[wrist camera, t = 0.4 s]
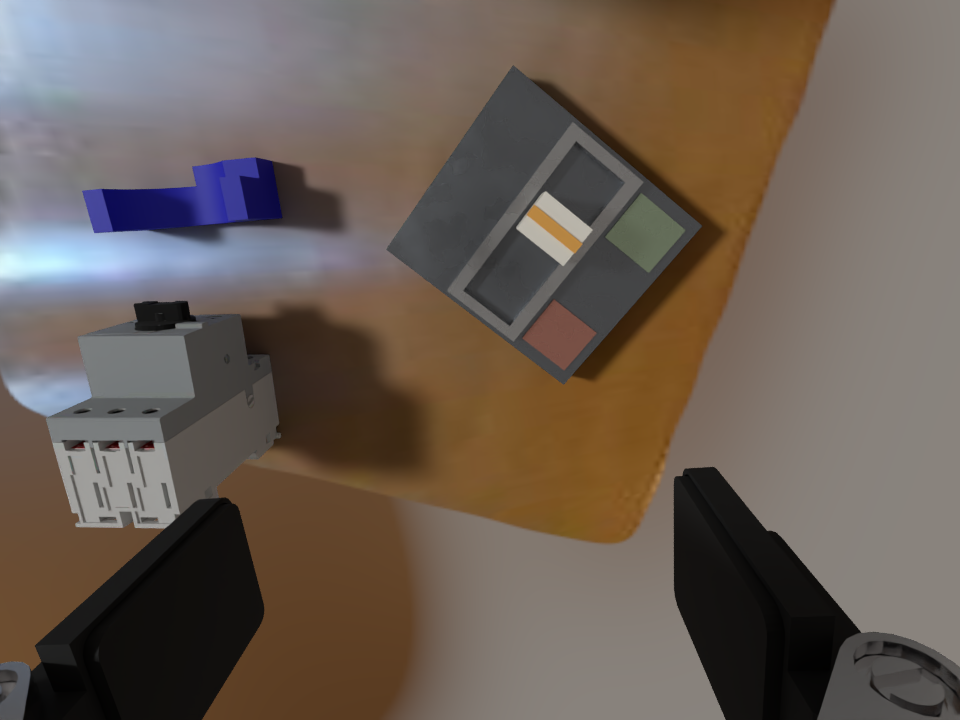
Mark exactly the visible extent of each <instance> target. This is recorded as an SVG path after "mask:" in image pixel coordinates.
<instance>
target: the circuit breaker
mask: <svg viewBox="0 0 960 720" xmlns="http://www.w3.org/2000/svg"><path fill="white" fill-rule="evenodd" d="M134 308H135V312H136V317H137V320H134V321H130V322H127V323H123V324H119V325H116V326H112V327H109V328H105V329H102V330H98V331H95V332H91V333H88V334H86V335H82V336H78V342H79V346H80V350H81V354H82V358H83V362H84V366H85V370H86V374H87V378H88V382H89V386H90V390H91V394H92V397H91V398H90V399H88V400H86V401H84V402H81V403H79V404H77V405H75V406H72V407H70V408H68V409H66V410H63V411H61V412H59V413H57V414H54V415H52V416H50V417H48V418H47V419H46V421H47V425H48V428H49V432H50V436H51V439H52V442H53V446H54V450H55V454H56V457H57V461H58V464H59V468H60V471H61V475H62V478H63V482H64V485H65V489H66V493H67V496H68V500H69V503H70V506H71V510H72V513H78V516H79V519H80V521H79V522H77V523H76V527H118V528H119V527H120V528H123V527H125V526H126V525H128V524H129V523H131V522H133V521H134V525H135V528H166V527H167V526H169V525H170V524H171V523H172V522H173V521H174V520H175V519H176V518H177V517H179V516H180V515H181V514H182V513H183V512H184V511H185V510H186V509H187V508H189V507H190V506H191V505H192V504H193V503H194V502H195V501H197V500H199V499H210V498H219V497H218V492H217V486H218V485H219V484H220V483H221V482H222V481H223V480H224V479H226V478H227V477H228V476H229V475H230V474H231V473H232V472H233V471H234V470H235V469H236V468H237V467H238V466H239V465H241V464H242V463H243V462H244V461H245V460H246V459H259V458H260V457H261V456H262V455H263V454H264V453H265V452H266V451H267V450H268V449H269V448H270V447H271V446H272V445H273V444H274V441H273V440H274V439H275V438H280V437H281V433H277V431H276V426H277V425H279V418H278V411H277V404H276V397H275V390H274V383H273V376H272V370H271V363H270V356H269V354H261V355H247V351H246V345H245V339H244V333H243V326H242V320H241V315H240V314H226V315H199V316H194V315H190V312H189V306H188V301H175V302H158V301H147V302H143V303H137V304H134ZM266 438H267V442H266ZM157 518H158V521H154V520H155V519H157ZM114 519H117V520H114Z"/></svg>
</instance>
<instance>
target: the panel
mask: <svg viewBox="0 0 960 720" xmlns="http://www.w3.org/2000/svg"><path fill="white" fill-rule="evenodd" d="M545 191H546V192H547V193H549V194H550V195H551V196H552V197H553V198H555V199H556V200H557V201H558V202H560V203H561V204H562V205H563V206H564V207H566V208H567V209H568V210H569V211H571V212H572V213H573V214H574V215H575V216H577V217H578V218H579V219H580V220H582V221H583V222H584V223H585V224H586V225H588V226H589V227H590V228H591V229H593V230H592V232H591V233H590V234H589V235H588V236H587V238H586V239H585V240H584V241H583V243H582V245H581V247H580V248H579V249H578V250H577V252H576V253H575V254H573V255H572V256H571V258H570V259H569V260H568V261H567V262H566V264H565V265H564V266H562V265H561V264H560V263H559V262H557V261H556V260H555V259H554V258H552V257H551V256H550V255H549V254H547V253H546V252H545V251H544V250H542V249H541V248H540V247H539V246H537V245H536V244H535V243H534V242H532V241H531V240H530V239H529V238H527V237H526V236H525V235H524V234H522V233H521V232H520V231H519V230H517V228H516V226H517V225H518V224H519V222H520V221H521V220H522V218H523V217H524V216H525V214H526V213H527V212H528V211H529V209H530V208H531V207H532V205H533V204H534V203H535V201H536V200H537V199H538V197H539V196H540V195H541V194H542V193H543V192H545ZM701 227H702V225H701V224H699V223H698V222H697V221H696V220H695V219H694V218H692V217H691V216H690V215H689V214H688V213H686V212H685V211H684V210H683V209H682V208H681V207H679V206H678V205H677V204H676V203H675V202H674V201H672V200H671V199H670V198H669V197H668V196H666V195H665V194H664V193H663V192H662V191H661V190H659V189H658V188H657V187H656V186H655V185H654V184H652V183H651V182H650V181H649V180H648V179H646V178H645V177H644V176H643V175H642V174H641V173H639V172H638V171H637V170H636V169H635V168H634V167H632V166H631V165H630V164H629V163H628V162H626V161H625V160H624V159H623V158H622V157H621V156H619V155H618V154H617V153H616V152H615V151H614V150H612V149H611V148H610V147H609V146H608V145H606V144H605V143H604V142H603V141H602V140H601V139H599V138H598V137H597V136H596V135H595V134H594V133H592V132H591V131H590V130H589V129H588V128H586V127H585V126H584V125H583V124H582V123H581V122H579V121H578V120H577V119H576V118H575V117H574V116H572V115H571V114H570V113H569V112H568V111H566V110H565V109H564V108H563V107H562V106H561V105H559V104H558V103H557V102H556V101H555V100H554V99H552V98H551V97H550V96H549V95H548V94H546V93H545V92H544V91H543V90H542V89H541V88H539V87H538V86H537V85H536V84H535V83H534V82H532V81H531V80H530V79H529V78H528V77H526V76H525V75H524V74H523V73H522V72H521V71H519V70H518V69H517V68H516V67H515V66H514V65H513V66H512V68H511V69H510V70H509V72H508V73H507V75H506V76H505V78H504V79H503V81H502V82H501V84H500V85H499V86H498V88H497V89H496V91H495V92H494V94H493V95H492V97H491V98H490V99H489V101H488V102H487V104H486V105H485V107H484V108H483V110H482V111H481V113H480V114H479V115H478V117H477V118H476V120H475V121H474V123H473V124H472V126H471V127H470V129H469V130H468V131H467V133H466V134H465V136H464V137H463V139H462V140H461V142H460V143H459V144H458V146H457V147H456V149H455V150H454V152H453V153H452V155H451V156H450V158H449V159H448V160H447V162H446V163H445V165H444V166H443V168H442V169H441V171H440V172H439V173H438V175H437V176H436V178H435V179H434V181H433V182H432V184H431V185H430V187H429V188H428V189H427V191H426V192H425V194H424V195H423V197H422V198H421V200H420V201H419V203H418V204H417V205H416V207H415V208H414V210H413V211H412V213H411V214H410V216H409V217H408V218H407V220H406V221H405V223H404V224H403V226H402V227H401V229H400V230H399V232H398V233H397V234H396V236H395V237H394V239H393V240H392V242H391V243H390V245H389V246H388V247H387V249H386V250H388V251H389V252H390V253H392V254H393V255H394V256H396V257H397V258H398V259H399V260H401V261H402V262H403V263H405V264H406V265H407V266H409V267H410V268H411V269H413V270H414V271H415V272H417V273H418V274H419V275H420V276H422V277H423V278H424V279H426V280H427V281H428V282H430V283H431V284H432V285H434V286H435V287H436V288H438V289H439V290H440V291H441V292H443V293H444V294H445V295H447V296H448V297H449V298H451V299H452V300H453V301H455V302H456V303H457V304H459V305H460V306H461V307H462V308H464V309H465V310H466V311H468V312H469V313H470V314H472V315H473V316H474V317H476V318H477V319H478V320H480V321H481V322H482V323H483V324H485V325H486V326H487V327H489V328H490V329H491V330H493V331H494V332H495V333H497V334H498V335H499V336H501V337H502V338H503V339H504V340H506V341H507V342H508V343H510V344H511V345H512V346H514V347H515V348H516V349H518V350H519V351H520V352H522V353H523V354H524V355H525V356H527V357H528V358H529V359H531V360H532V361H533V362H535V363H536V364H537V365H539V366H540V367H541V368H543V369H544V370H545V371H546V372H548V373H549V374H550V375H552V376H553V377H554V378H556V379H557V380H558V381H560V382H561V383H562V384H565V383H566V381H567V380H568V379H569V378H570V377H571V376H572V375H573V373H574V372H575V371H576V370H577V369H578V368H579V367H580V365H581V364H582V363H583V362H584V361H585V360H586V359H587V357H588V356H589V355H590V354H591V353H592V352H593V351H594V349H595V348H596V347H597V346H598V345H599V344H600V343H601V341H602V340H603V339H604V338H605V337H606V336H607V335H608V333H609V332H610V331H611V330H612V329H613V328H614V326H615V325H616V324H617V323H618V322H619V321H620V320H621V318H622V317H623V316H624V315H625V314H626V313H627V312H628V310H629V309H630V308H631V307H632V306H633V305H634V304H635V302H636V301H637V300H638V299H639V298H640V297H641V296H642V294H643V293H644V292H645V291H646V290H647V289H648V288H649V286H650V285H651V284H652V283H653V282H654V281H655V280H656V278H657V277H658V276H659V275H660V274H661V273H662V272H663V270H664V269H665V268H666V267H667V266H668V265H669V264H670V262H671V261H672V260H673V259H674V258H675V257H676V256H677V254H678V253H679V252H680V251H681V250H682V249H683V248H684V246H685V245H686V244H687V243H688V242H689V241H690V239H691V238H692V237H693V236H694V235H695V234H696V233H697V231H698V230H699V229H700V228H701Z"/></svg>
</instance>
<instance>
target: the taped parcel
mask: <svg viewBox="0 0 960 720" xmlns="http://www.w3.org/2000/svg"><path fill="white" fill-rule="evenodd" d="M516 228H517V230H519V231H520V232H521V233H522V234H524V235H525V236H526V237H527V238H529V239H530V240H531V241H532V242H534V243H535V244H536V245H537V246H539V247H540V248H541V249H542V250H544V251H545V252H546V253H547V254H549V255H550V256H551V257H552V258H554V259H555V260H556V261H557V262H559V263H560V264H561V265H562V266H564V265H565V264H566V262H567V261H568V260H569V259H570V258H571V256H572V255H573V254H575V253H576V252H577V250H578V249H579V248H580V247H581V245H582V243H583V241H584V240H585V239H586V238H587V236H588V235H589V234H590V233H591V232H592V230H593V229H591V228H590V227H589V226H588V225H586V224H585V223H584V222H583V221H582V220H580V219H579V218H578V217H577V216H575V215H574V214H573V213H572V212H571V211H569V210H568V209H567V208H566V207H564V206H563V205H562V204H561V203H560V202H558V201H557V200H556V199H555V198H553V197H552V196H551V195H550V194H549V193H547V192H546V191H545V192H543V193H542V194H541V195H540V196H539V197H538V199H537V200H536V201H535V203H534V204H533V205H532V207H531V208H530V209H529V211H528V212H527V213H526V214H525V216H524V217H523V218H522V220H521V221H520V222H519V224H518V225H517V226H516Z"/></svg>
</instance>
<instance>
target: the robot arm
mask: <svg viewBox="0 0 960 720" xmlns="http://www.w3.org/2000/svg"><path fill="white" fill-rule="evenodd" d="M674 591H675V598H676V602H677V606H678V608H679V611H680V613H681V616H682V618H683V620H684V623H685V625H686V627H687V630H688V632H689V634H690V637H691V639H692V641H693V644H694V646H695V648H696V651H697V653H698V656H699V658H700V660H701V663H702V665H703V667H704V670H705V672H706V674H707V677H708V679H709V681H710V684H711V686H712V689H713V691H714V693H715V696H716V698H717V700H718V703H719V705H720V707H721V710H722V712H723V714H724V717H725V719H726V720H960V667H959V666H958V665H956V664H955V663H954V662H953V661H951V660H949V659H948V658H946V657H945V656H943V655H942V654H940V653H939V652H937V651H935V650H933V649H931V648H929V647H927V646H925V645H923V644H920V643H918V642H916V641H914V640H911V639H907V638H904V637H901V636H897V635H894V634H887V633H879V632H867V633H861V632H860V630H859V629H858V628H857V627H856V626H855V624H854V623H853V622H852V621H851V620H850V618H849V617H848V616H847V615H846V614H845V613H844V611H843V610H842V609H841V608H840V607H839V605H838V604H837V603H836V602H835V601H834V600H833V598H832V597H831V596H830V595H829V594H828V592H827V591H826V590H825V589H824V588H823V586H822V585H821V584H820V583H819V582H818V580H817V579H816V578H815V577H814V576H813V574H812V573H811V572H810V571H809V570H808V569H807V567H806V566H805V565H804V564H803V563H802V561H801V560H800V559H799V558H798V557H797V555H796V554H795V553H794V552H793V551H792V549H791V548H790V547H789V546H788V545H787V543H786V542H785V541H784V540H783V539H782V538H781V537H780V536H779V535H778V534H777V533H776V532H773V531H767V530H766V529H765V528H764V527H763V526H762V524H761V523H760V522H759V521H758V520H757V518H756V517H755V516H754V515H753V514H752V512H751V511H750V510H749V508H748V507H747V506H746V505H745V503H744V502H743V501H742V500H741V499H740V497H739V496H738V495H737V494H736V492H735V491H734V490H733V489H732V487H731V486H730V485H729V484H728V482H727V481H726V480H725V479H724V477H723V476H722V475H721V474H720V473H719V471H718V470H717V469H716V468H714V467H705V468H689V469H685V470H684V471H683V476H676V477H675V479H674ZM263 615H264V604H263V600H262V596H261V592H260V588H259V584H258V581H257V577H256V573H255V569H254V565H253V561H252V558H251V554H250V550H249V546H248V542H247V538H246V534H245V531H244V527H243V523H242V519H241V515H240V511H239V509H238V507H237V506H236V505H235V504H232V503H231V501H230V500H229V499H227V498H210V499H199V500H197V501H195V502H194V503H193V504H192V505H191V506H190V507H189V508H187V509H186V510H185V511H184V512H183V513H182V514H181V515H180V516H179V517H177V518H176V519H175V520H174V521H173V522H172V523H171V524H170V525H169V526H167V527H166V528H165V529H164V530H163V531H162V532H161V533H160V534H159V535H157V536H156V537H155V538H154V539H153V540H152V541H151V542H150V543H149V544H148V545H146V546H145V547H144V548H143V549H142V550H141V551H140V552H139V553H138V554H136V555H135V556H134V557H133V558H132V559H131V560H130V561H128V562H127V563H126V564H125V565H124V566H123V567H122V568H121V569H120V570H118V571H117V572H116V573H115V574H114V575H113V576H112V577H111V578H110V579H109V580H107V581H106V582H105V583H104V584H103V585H102V586H101V587H100V588H98V589H97V590H96V591H95V592H94V593H93V594H92V595H91V596H90V597H88V599H86V600H85V601H84V602H83V603H82V604H81V605H80V606H79V607H77V608H76V609H75V610H74V611H73V612H72V613H71V614H70V615H68V616H67V617H66V618H65V619H64V620H63V621H62V622H61V623H60V624H58V625H57V626H56V627H55V628H54V629H53V630H52V631H51V632H49V633H48V634H47V635H46V636H45V637H44V638H43V639H42V640H41V641H40V642H38V643H37V644H36V645H35V647H36V650H37V652H38V654H39V657H40V659H41V663H40V664H39V665H38V666H37V667H36V668H35V669H34V670H33V671H31V669H30V667H29V666H28V665H26V664H25V663H23V662H7V663H2V664H0V720H202V719H203V717H204V715H205V713H206V712H207V710H208V709H209V707H210V706H211V704H212V702H213V701H214V699H215V697H216V696H217V694H218V693H219V691H220V689H221V688H222V686H223V684H224V683H225V681H226V680H227V678H228V676H229V675H230V673H231V671H232V670H233V668H234V667H235V665H236V663H237V662H238V660H239V658H240V657H241V655H242V654H243V652H244V650H245V649H246V647H247V646H248V644H249V642H250V641H251V639H252V638H253V636H254V634H255V633H256V631H257V629H258V628H259V626H260V624H261V622H262V619H263Z"/></svg>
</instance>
